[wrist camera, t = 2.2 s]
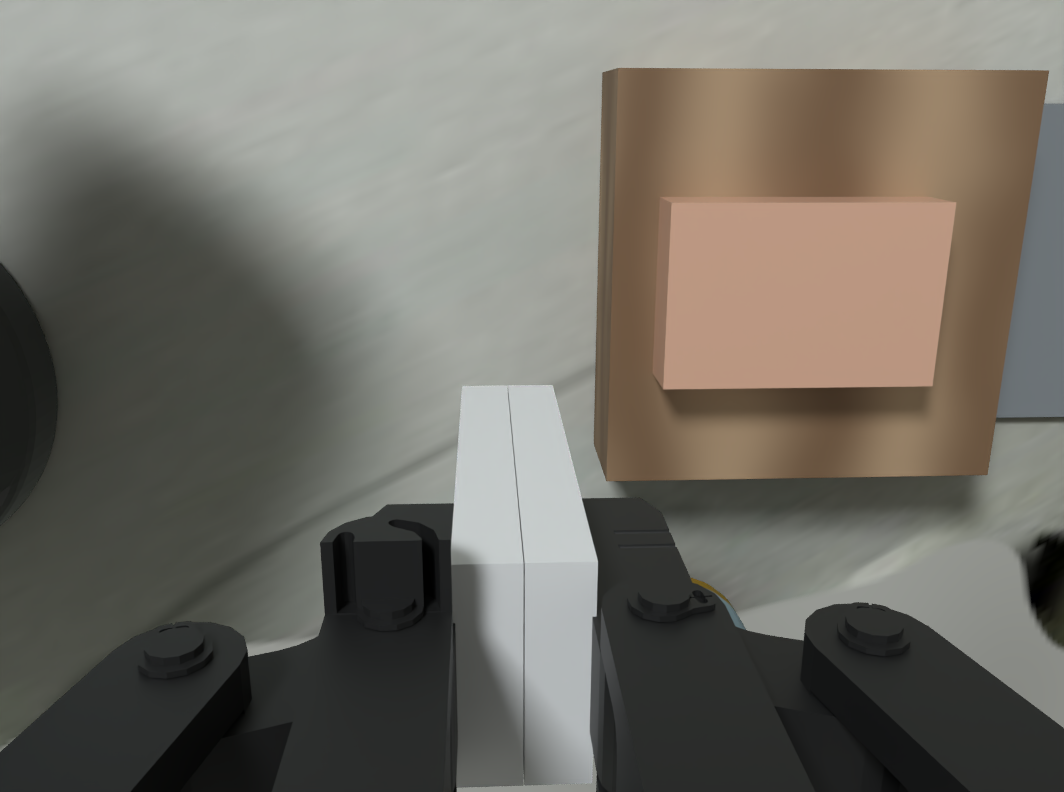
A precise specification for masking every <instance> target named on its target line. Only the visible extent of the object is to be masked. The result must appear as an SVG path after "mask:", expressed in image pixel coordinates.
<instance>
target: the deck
mask: <svg viewBox="0 0 1064 792" xmlns="http://www.w3.org/2000/svg"><path fill="white" fill-rule="evenodd" d="M1048 74H1049V71H1039V70H865V69H690V68H617V69H613V70H610V71H606V72H603V75H602V118H601V160H600V202H599V245H598V287H597V330H596V372H595V414H594V446H595V449H596V452H597V454H598V457H599V460H600V463H601V466H602V469H603V472H604V475H605V478H606V481H651V480H712V479H773V478H834V477H895V476H956V475H987V474H988V467H989V461H990V454H991V448H992V441H993V435H994V428H995V422H996V415H997V408H998V402H999V395H1000V389H1001V382H1002V376H1003V369H1004V363H1005V356H1006V349H1007V343H1008V336H1009V330H1010V323H1011V317H1012V310H1013V303H1014V297H1015V290H1016V284H1017V277H1018V271H1019V264H1020V258H1021V251H1022V244H1023V238H1024V231H1025V225H1026V218H1027V212H1028V205H1029V199H1030V192H1031V185H1032V179H1033V172H1034V166H1035V159H1036V153H1037V146H1038V139H1039V133H1040V126H1041V120H1042V113H1043V107H1044V100H1045V94H1046V87H1047V80H1048ZM660 197H932V198H937V199H942V200H947V201H952V202H956V210H955V217H954V225H953V233H952V240H951V248H950V256H949V263H948V271H947V279H946V286H945V294H944V302H943V309H942V317H941V324H940V332H939V340H938V347H937V355H936V363H935V370H934V378H933V386H918V387H832V388H745V389H663V388H662V387H661V385H660V384H659V382H658V381H657V379H656V378H655V376H654V375H653V351H654V327H655V303H656V279H657V255H658V231H659V207H660Z"/></svg>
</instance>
